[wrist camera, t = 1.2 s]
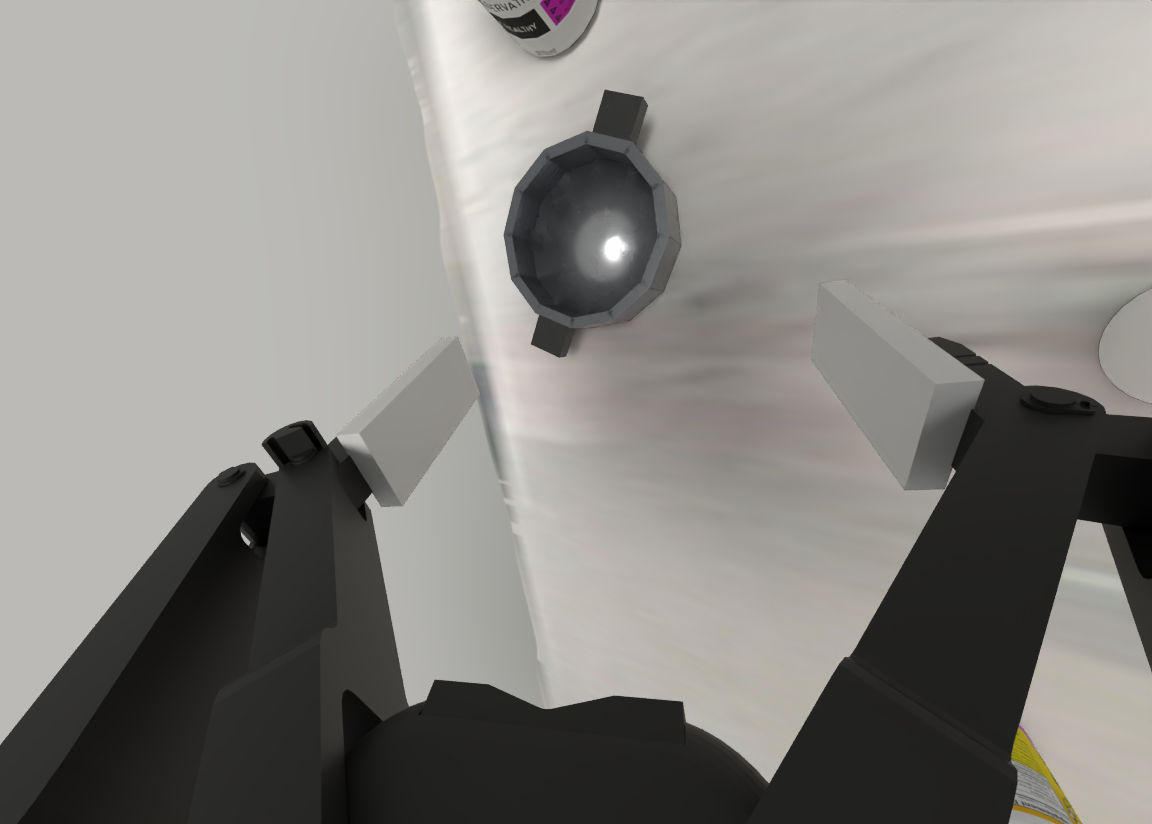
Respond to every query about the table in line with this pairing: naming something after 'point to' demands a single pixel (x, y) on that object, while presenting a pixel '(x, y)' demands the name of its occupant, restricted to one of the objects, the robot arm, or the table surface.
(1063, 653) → the table surface
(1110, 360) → the cylindrical container
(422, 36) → the table surface
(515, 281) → the cooker pot
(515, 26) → the supplement can
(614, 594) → the table surface
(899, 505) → the table surface
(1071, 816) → the supplement bottle
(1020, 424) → the robot arm
